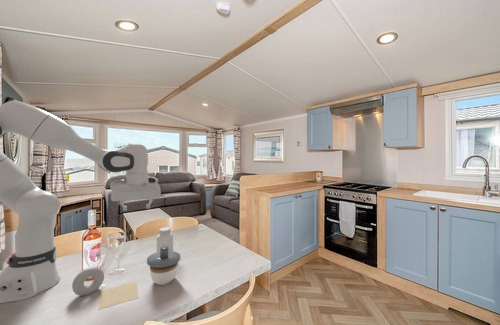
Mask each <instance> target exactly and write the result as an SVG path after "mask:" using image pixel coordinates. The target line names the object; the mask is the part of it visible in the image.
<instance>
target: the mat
mask: <svg viewBox="0 0 500 325" xmlns="http://www.w3.org/2000/svg"><path fill="white" fill-rule="evenodd" d="M136 299H139V293H138V283H137V281H133V282H129V283H125V284H122V285H118V286H113V287H109V288H105V289H103V290H101V292H100V298H99V303H98V310H102V309H105V308H109V307H110V308H111V307H112V306H116V305H120V304H122V303H126V302H129V301H133V300H136Z"/></svg>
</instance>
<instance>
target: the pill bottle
mask: <svg viewBox="0 0 500 325" xmlns="http://www.w3.org/2000/svg"><path fill="white" fill-rule="evenodd" d="M158 231H159V234H157V236H156V253H157V252H160V248H161V247H164V246H167V247H169V250H168V251H174V235H173V233H172V232H171V228H170V227H169V226H168V227H161V228H159V230H158Z"/></svg>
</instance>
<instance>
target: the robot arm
mask: <svg viewBox="0 0 500 325" xmlns="http://www.w3.org/2000/svg"><path fill="white" fill-rule="evenodd" d="M7 133H13V134H17V135H20V136H22V137H24V138H27V139H29V140H32V141H34V142H36V143H39V144H42V145H43V146H44V145H45V146H48V147H51V148H55V149H60V150H66V151H70V152H73V153H75V154H78V155H80V156H83V157H85V159H86V158H87V159H89V160H91V161H93V162H94V163H96V164H97V166H99V168H101V169H102V170H103V171H105V172H107V173H114V174H116V173H121V172H125V174H126V175H125V179H114V180H112V181H111V182H110V184H109V188H110V190H111V193H110V200H111V201H112V202H119V204H120V205H121V207H122V211H123V212H125V211H128V206H127V205H125V204H124V203H125V201H137V200H138V201H139V200H149V202H148V204H147V203H146V207H145V208H146V209H147V210H148V209H151V204H152V203H153V201H154V200H155V199H160V198H161V197H162V194H161V193H162V191H161V186H160V184H159V178H157V177H155V176H151V175H149V171H148V164H149V154H148V149H147V147H146V146H145V145H142V144H139V143H134V142H133V143H132V142H131V143H128V144H127V145H124V146H122V147H120V148H119V147H118V148H117V149H113V150H110V149H104V148H101V147H99V146H97V145H95V144H94V143H91V142H89V141H87V140H85V139H84V138H82V137H81V136H80V135H79V134H78V133H77V132H76V131H75V130H74V129H73V127H72V126H71V125H70V124H68V123H66V122H65V121H64V120H62V119H61V118H59V117H57V116H55V115H53V114H51V113H50V112H48V111H45V110H43V109H41V108H39V107H36V106H34V105H32V104H29V103H26V102H23V101H20V100H9V101H6V102H4V103H3V104H2V105H0V139H1V138H2V137H3V136H4V135H6V134H7ZM0 202H1V203H2V204H3V205H4V206H6V207H7V208H8V209H10V210H11V211H12V212H14V213H15V214H17V215H18V221H17V222H18V223H17V228H16V232H15V234H14V242H15V243H14V244H15V245H14V252H13V253H12V254H10V257H8V258H7V260H6V265H8V266H6V267H5V268H4V269H2V270H0V304H4V303H10V302H16V301H23V300H27V299H31V298H33V297H34V296H36V295H38V294H39V293H41V292H44V291H47V290H48V289H50V288H52V287H53V286H56V284H58V283H59V282H60V280H61V277H60V275H59V272H58V269H57V266H56V260H57V250H56V246H55V226H56V220H57V215H58V212H59V211H60V209H61V201H60V199H59V197H57V195H55V194H54V193H53V192H50V191H47V190H43V189H41V188H39V186H37V185H36V184H35V183H34V181H33V180H32V179H31V178H30V176H28V175H27V173H26V171H24V169H23V168H20V166H19V165H17V164H16V163H15V162H14V160H12V159H11V158H9V156H7V155H6V154H5V153H4V152H3V151H1V150H0Z"/></svg>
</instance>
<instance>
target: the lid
mask: <svg viewBox="0 0 500 325" xmlns="http://www.w3.org/2000/svg"><path fill="white" fill-rule="evenodd" d="M168 250H169V247H167V246H164V247H161V248H160V252H157V251H156V252H154V253H152V254H150V255H149V256H147V258H146V265H148V266H149V267H150V266H151V267H156V268H162V267H168V266H172V265H174V264H176V263H179V262H180V260H181V254H180V253H179V252H177V251H174V250H173V251H168Z"/></svg>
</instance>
